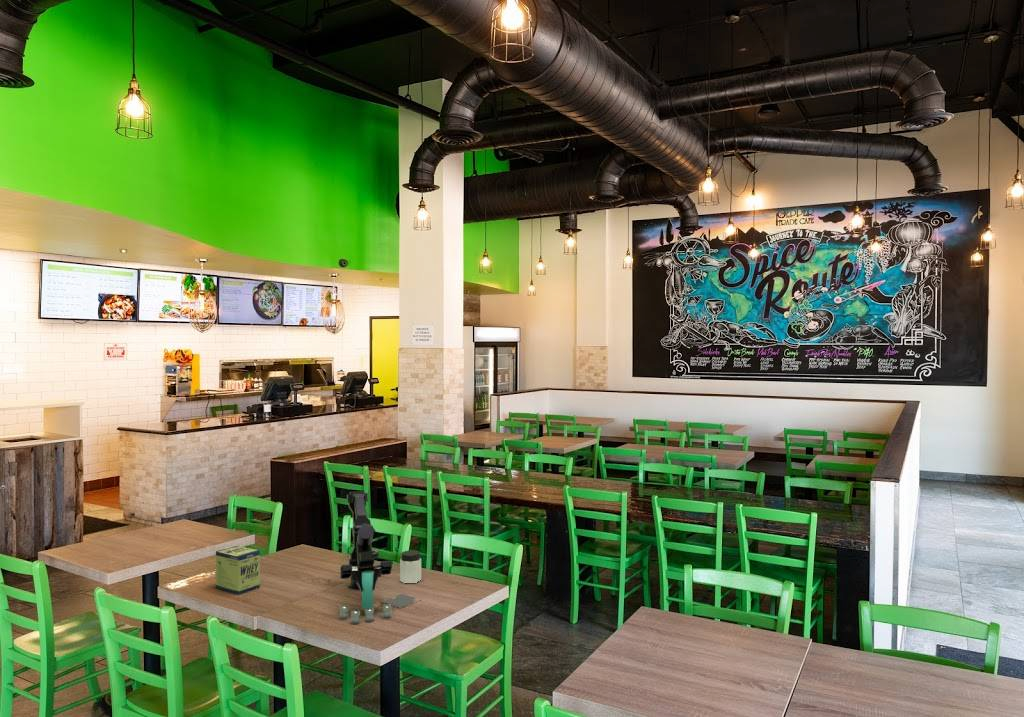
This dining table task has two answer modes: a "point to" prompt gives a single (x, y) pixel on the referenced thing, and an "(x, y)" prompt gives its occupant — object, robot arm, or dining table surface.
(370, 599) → the teal dowel
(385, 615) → the spacer posts
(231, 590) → the protein box
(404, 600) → the mat
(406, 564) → the jar
